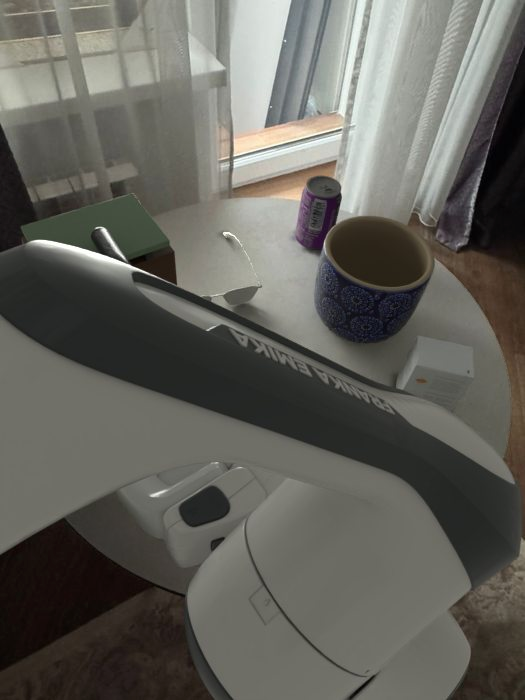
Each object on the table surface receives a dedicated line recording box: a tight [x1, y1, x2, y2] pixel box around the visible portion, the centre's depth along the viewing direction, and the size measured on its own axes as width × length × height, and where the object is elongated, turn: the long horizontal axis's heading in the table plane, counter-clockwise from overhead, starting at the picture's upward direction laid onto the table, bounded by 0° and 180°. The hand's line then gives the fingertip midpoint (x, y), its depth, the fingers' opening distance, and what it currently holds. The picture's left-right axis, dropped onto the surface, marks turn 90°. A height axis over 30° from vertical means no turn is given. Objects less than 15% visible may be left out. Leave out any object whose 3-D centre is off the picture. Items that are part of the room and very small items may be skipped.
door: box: [20, 192, 171, 266], centre depth 52 cm, size 20×13×3 cm, turn 33°
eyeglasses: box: [200, 231, 263, 306], centre depth 87 cm, size 15×18×4 cm
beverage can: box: [294, 175, 343, 250], centre depth 92 cm, size 7×7×12 cm
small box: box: [395, 335, 475, 412], centre depth 72 cm, size 8×6×10 cm
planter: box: [313, 215, 436, 345], centre depth 80 cm, size 16×17×15 cm
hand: (185, 368), depth 45 cm, fingers open, 8 cm apart
